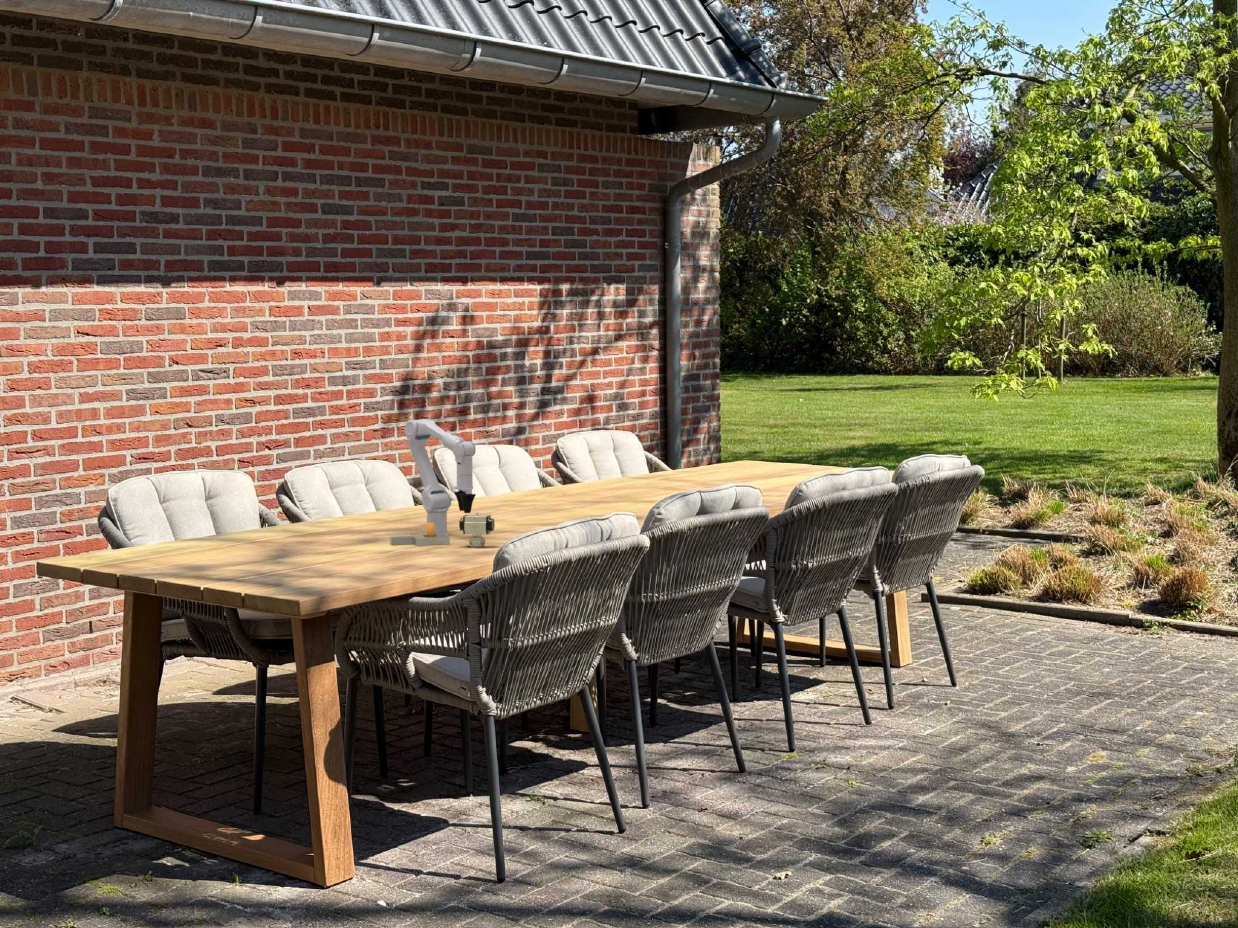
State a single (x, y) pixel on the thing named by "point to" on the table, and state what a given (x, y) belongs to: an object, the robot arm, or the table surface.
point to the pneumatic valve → (476, 527)
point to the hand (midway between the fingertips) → (465, 511)
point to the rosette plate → (421, 539)
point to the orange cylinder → (430, 529)
